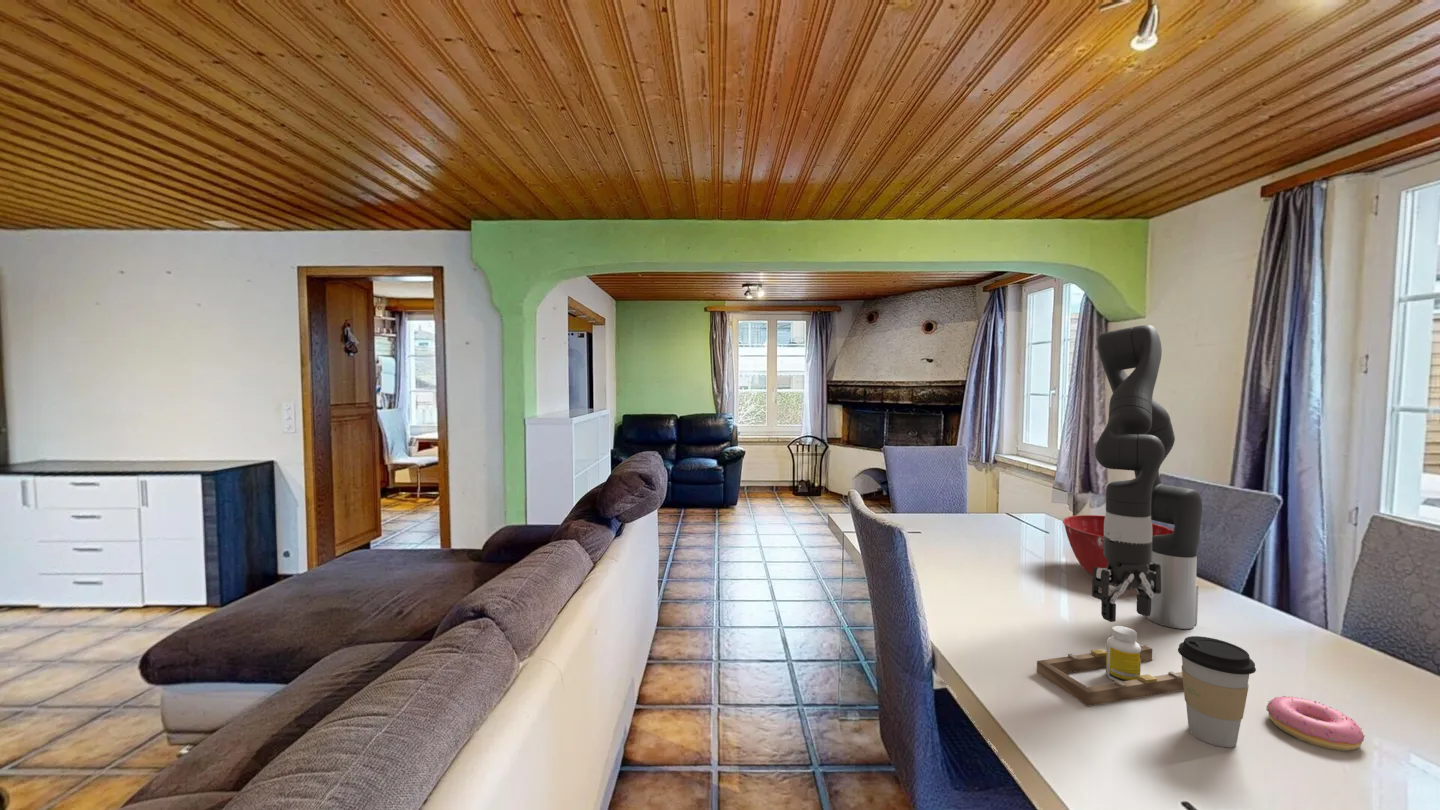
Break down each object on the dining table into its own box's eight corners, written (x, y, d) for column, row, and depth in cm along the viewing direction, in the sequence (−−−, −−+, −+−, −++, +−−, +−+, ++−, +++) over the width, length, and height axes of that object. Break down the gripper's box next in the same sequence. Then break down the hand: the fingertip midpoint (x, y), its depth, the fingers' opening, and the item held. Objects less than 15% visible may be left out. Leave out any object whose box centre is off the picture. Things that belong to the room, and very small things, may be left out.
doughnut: (1382, 750, 86) (1383, 725, 85) (1331, 761, 83) (1332, 734, 83) (1296, 709, 96) (1297, 687, 96) (1249, 718, 94) (1249, 694, 94)
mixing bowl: (1207, 596, 147) (1209, 540, 147) (1102, 595, 148) (1104, 540, 147) (1130, 561, 176) (1131, 515, 175) (1042, 561, 176) (1043, 514, 175)
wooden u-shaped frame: (1144, 656, 115) (1145, 642, 114) (1204, 686, 103) (1205, 670, 103) (1036, 672, 108) (1036, 657, 108) (1087, 706, 97) (1088, 689, 97)
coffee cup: (1160, 719, 93) (1163, 635, 93) (1210, 717, 94) (1213, 632, 93) (1215, 757, 84) (1218, 663, 83) (1270, 754, 85) (1273, 660, 84)
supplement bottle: (1146, 687, 103) (1147, 637, 102) (1114, 684, 104) (1115, 635, 104) (1130, 673, 108) (1132, 625, 108) (1100, 670, 109) (1101, 622, 109)
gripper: (1137, 527, 110) (1135, 605, 111) (1080, 533, 106) (1079, 614, 107) (1176, 538, 103) (1174, 621, 103) (1116, 545, 99) (1115, 630, 100)
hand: (1126, 617), depth 105 cm, fingers open, 8 cm apart
